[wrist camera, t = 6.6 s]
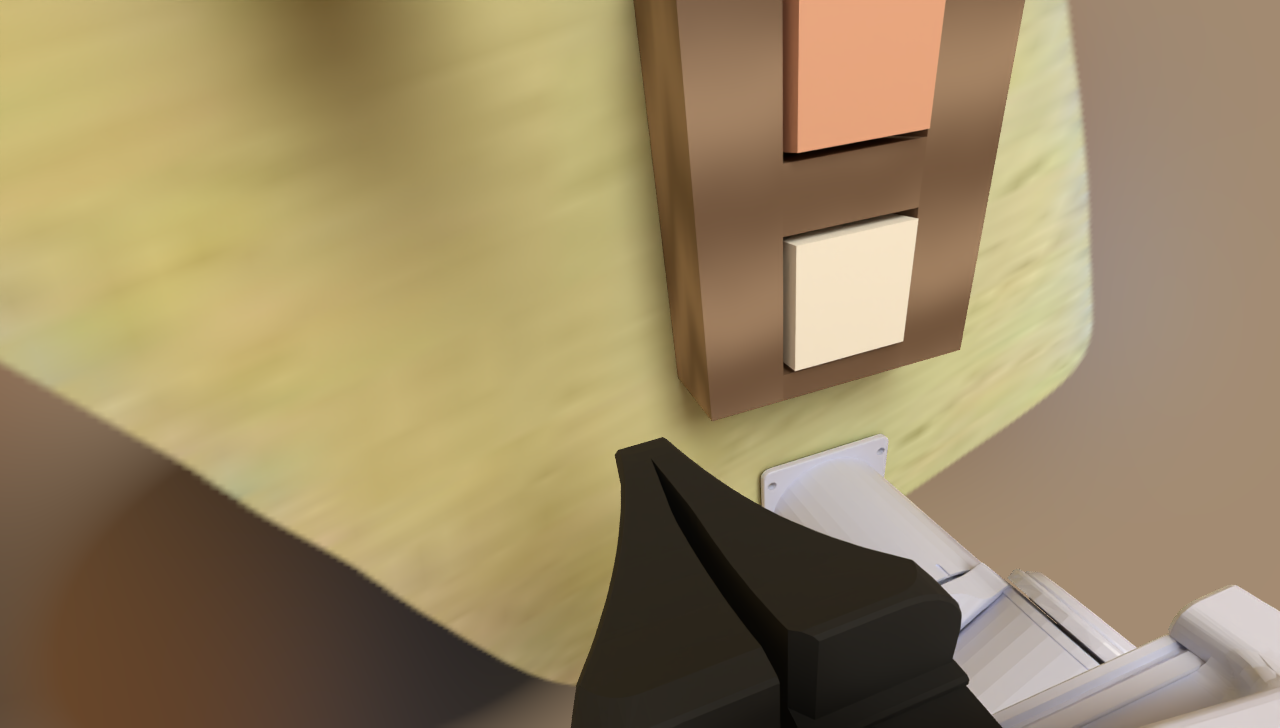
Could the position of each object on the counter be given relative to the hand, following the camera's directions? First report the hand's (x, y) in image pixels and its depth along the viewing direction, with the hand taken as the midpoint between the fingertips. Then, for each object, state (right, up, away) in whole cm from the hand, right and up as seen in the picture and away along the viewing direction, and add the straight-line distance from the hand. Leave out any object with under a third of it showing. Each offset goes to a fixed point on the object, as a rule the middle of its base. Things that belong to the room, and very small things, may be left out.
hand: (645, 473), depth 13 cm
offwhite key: (+7, +6, +8) cm, 13 cm away
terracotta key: (+6, +13, +4) cm, 15 cm away
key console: (+6, +11, +8) cm, 15 cm away
